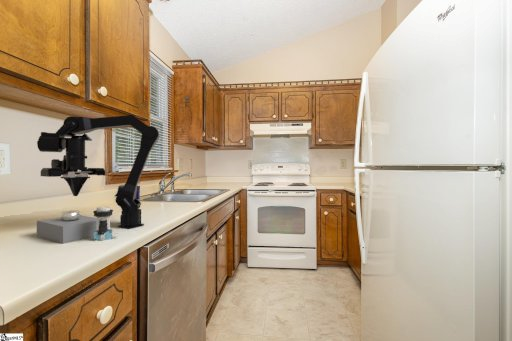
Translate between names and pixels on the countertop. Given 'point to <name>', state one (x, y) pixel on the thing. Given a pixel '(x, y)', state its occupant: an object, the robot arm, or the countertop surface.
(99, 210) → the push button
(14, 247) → the countertop surface
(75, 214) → the knob
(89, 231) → the panel
